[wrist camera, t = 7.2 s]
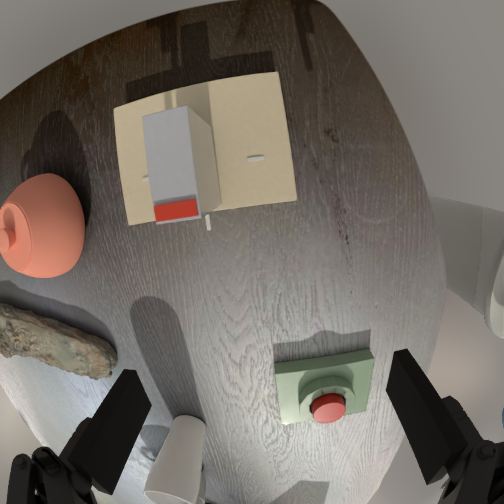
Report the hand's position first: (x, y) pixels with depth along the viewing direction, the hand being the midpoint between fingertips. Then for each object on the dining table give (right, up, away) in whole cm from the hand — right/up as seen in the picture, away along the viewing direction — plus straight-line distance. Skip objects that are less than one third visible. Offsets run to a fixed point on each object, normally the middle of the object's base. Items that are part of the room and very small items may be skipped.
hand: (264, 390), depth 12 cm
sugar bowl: (-25, +10, +16) cm, 32 cm away
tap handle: (-5, +14, +11) cm, 18 cm away
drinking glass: (-10, -20, +24) cm, 32 cm away
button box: (+9, -11, +20) cm, 25 cm away
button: (+9, -12, +17) cm, 22 cm away
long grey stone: (-36, -6, +21) cm, 42 cm away
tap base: (-5, +17, +13) cm, 22 cm away
